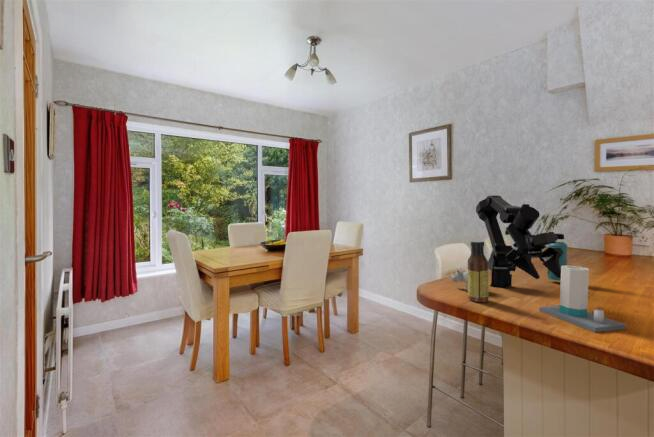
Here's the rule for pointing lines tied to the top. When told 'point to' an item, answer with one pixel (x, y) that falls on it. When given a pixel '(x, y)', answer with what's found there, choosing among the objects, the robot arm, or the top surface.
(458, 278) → the chubby cartoon animal
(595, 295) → the top surface
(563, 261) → the beverage bottle
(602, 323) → the pin plate
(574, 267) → the vase
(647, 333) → the top surface
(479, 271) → the sauce bottle
